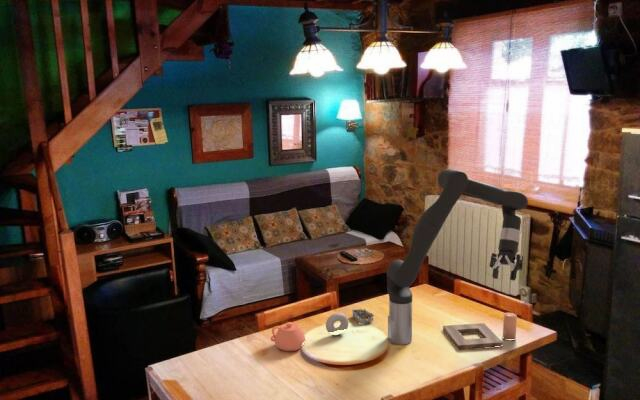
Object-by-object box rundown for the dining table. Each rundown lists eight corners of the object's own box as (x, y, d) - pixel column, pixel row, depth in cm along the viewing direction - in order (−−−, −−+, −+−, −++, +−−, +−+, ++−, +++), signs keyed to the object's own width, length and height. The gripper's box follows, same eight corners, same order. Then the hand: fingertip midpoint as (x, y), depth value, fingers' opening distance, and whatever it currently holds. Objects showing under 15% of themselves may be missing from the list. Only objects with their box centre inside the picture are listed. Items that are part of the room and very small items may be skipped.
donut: (327, 339, 217) (327, 316, 215) (324, 335, 220) (324, 313, 218) (349, 335, 220) (349, 312, 218) (346, 331, 223) (346, 309, 221)
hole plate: (458, 350, 205) (458, 345, 204) (443, 330, 222) (443, 325, 222) (502, 346, 207) (502, 342, 206) (483, 327, 224) (484, 323, 224)
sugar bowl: (301, 355, 204) (300, 330, 202) (266, 352, 207) (265, 328, 205) (308, 341, 216) (307, 317, 214) (275, 338, 218) (274, 315, 217)
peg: (505, 341, 211) (507, 318, 209) (500, 335, 216) (501, 313, 214) (517, 340, 212) (519, 317, 210) (512, 334, 217) (513, 312, 215)
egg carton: (374, 323, 231) (374, 315, 230) (358, 326, 229) (358, 317, 228) (366, 314, 241) (366, 305, 240) (351, 316, 239) (350, 307, 238)
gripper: (489, 238, 220) (483, 276, 217) (517, 238, 208) (512, 278, 205) (501, 242, 223) (495, 279, 220) (529, 242, 211) (524, 282, 208)
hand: (503, 279), depth 213 cm, fingers open, 8 cm apart
